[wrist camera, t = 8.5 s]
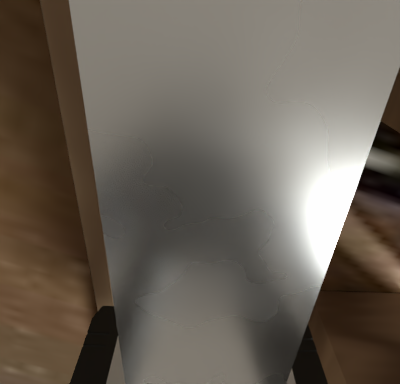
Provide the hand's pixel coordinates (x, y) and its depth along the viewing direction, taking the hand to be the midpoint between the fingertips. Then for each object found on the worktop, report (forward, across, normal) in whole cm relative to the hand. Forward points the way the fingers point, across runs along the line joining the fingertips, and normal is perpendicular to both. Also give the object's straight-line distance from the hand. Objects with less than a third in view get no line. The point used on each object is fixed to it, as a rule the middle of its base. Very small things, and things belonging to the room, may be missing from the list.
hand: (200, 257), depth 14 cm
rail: (-3, 0, 0) cm, 3 cm away
